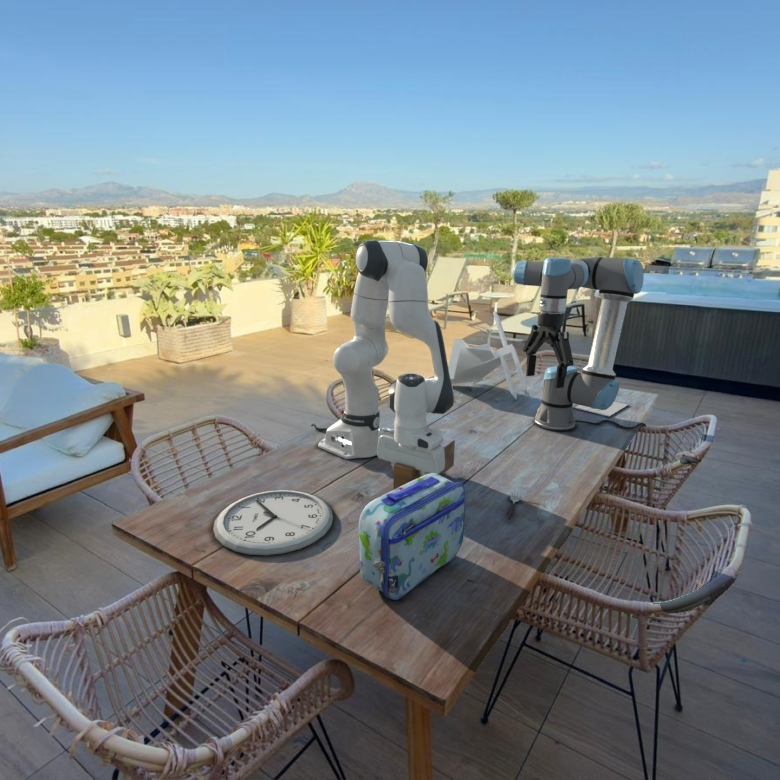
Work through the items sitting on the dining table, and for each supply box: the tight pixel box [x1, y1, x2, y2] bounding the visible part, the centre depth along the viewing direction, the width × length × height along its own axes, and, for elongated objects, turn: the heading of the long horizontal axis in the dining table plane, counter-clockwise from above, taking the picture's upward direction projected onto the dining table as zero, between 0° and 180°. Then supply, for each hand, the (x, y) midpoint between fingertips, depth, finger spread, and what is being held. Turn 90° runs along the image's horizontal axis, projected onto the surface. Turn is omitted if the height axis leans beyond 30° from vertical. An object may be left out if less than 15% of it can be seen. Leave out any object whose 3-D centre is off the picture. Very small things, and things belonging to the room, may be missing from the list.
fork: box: [508, 487, 522, 521], centre depth 143 cm, size 3×16×2 cm, turn 160°
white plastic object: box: [448, 310, 531, 400], centre depth 245 cm, size 37×45×31 cm
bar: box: [392, 436, 456, 490], centre depth 153 cm, size 25×6×9 cm, turn 146°
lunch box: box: [358, 473, 466, 601], centre depth 112 cm, size 26×11×21 cm, turn 134°
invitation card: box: [573, 401, 629, 418], centre depth 226 cm, size 21×1×15 cm
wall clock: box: [212, 489, 334, 556], centre depth 134 cm, size 30×2×30 cm
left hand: (409, 479), depth 146 cm, fingers closed on bar, 6 cm apart
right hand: (544, 381), depth 160 cm, fingers open, 13 cm apart
